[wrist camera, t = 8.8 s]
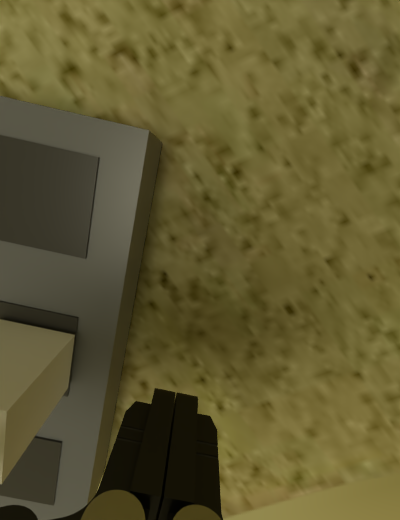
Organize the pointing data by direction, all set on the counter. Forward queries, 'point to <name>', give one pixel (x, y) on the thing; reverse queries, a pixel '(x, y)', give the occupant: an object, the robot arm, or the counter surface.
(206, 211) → the counter surface
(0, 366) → the block
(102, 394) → the breaker panel
